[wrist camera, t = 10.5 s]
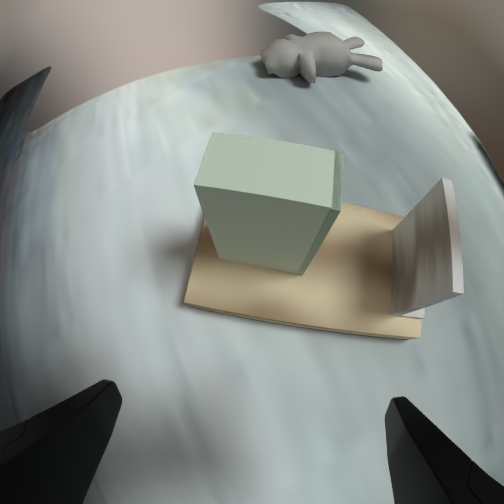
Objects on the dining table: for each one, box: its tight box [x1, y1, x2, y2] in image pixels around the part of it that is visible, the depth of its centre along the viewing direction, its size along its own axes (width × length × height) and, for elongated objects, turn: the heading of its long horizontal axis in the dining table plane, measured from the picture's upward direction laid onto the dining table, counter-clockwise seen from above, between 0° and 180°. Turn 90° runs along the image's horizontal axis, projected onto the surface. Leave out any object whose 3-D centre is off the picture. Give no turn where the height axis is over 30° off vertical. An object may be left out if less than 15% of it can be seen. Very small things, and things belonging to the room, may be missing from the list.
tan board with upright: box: [184, 178, 463, 340], centre depth 18 cm, size 10×18×10 cm, turn 79°
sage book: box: [194, 132, 343, 276], centre depth 17 cm, size 3×6×10 cm, turn 79°
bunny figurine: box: [260, 32, 382, 83], centre depth 30 cm, size 10×5×15 cm
